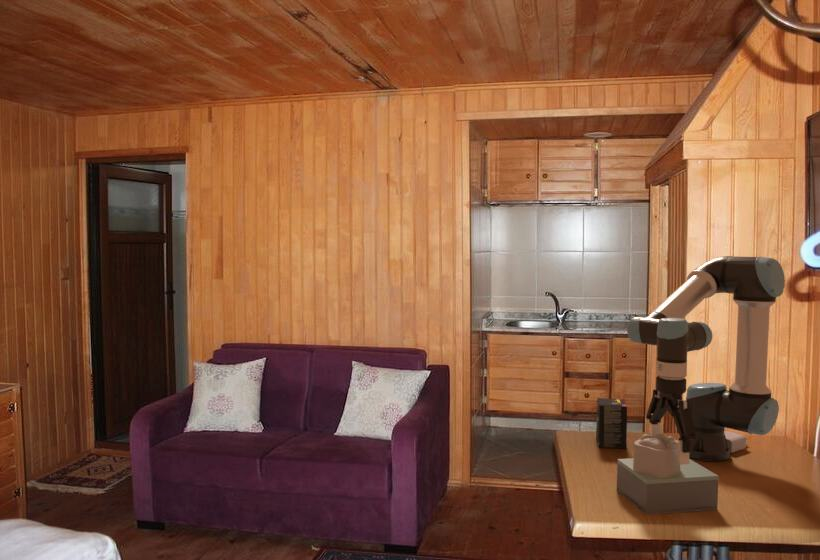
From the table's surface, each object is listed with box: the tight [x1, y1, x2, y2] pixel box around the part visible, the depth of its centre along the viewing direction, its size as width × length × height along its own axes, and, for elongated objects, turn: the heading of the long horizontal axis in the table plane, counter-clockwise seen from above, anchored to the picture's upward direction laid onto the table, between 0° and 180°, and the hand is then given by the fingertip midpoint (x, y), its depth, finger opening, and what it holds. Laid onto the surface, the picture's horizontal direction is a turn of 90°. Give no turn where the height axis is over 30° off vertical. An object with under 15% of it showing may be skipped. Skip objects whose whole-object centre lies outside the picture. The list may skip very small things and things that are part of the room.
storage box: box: [616, 463, 719, 516], centre depth 180 cm, size 20×16×8 cm
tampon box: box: [595, 397, 628, 450], centre depth 229 cm, size 11×9×15 cm
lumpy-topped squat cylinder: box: [632, 433, 680, 478], centre depth 178 cm, size 10×13×9 cm
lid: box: [617, 457, 719, 484], centre depth 180 cm, size 20×16×1 cm
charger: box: [724, 430, 748, 454], centre depth 227 cm, size 5×9×15 cm
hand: (669, 455), depth 179 cm, fingers open, 13 cm apart
